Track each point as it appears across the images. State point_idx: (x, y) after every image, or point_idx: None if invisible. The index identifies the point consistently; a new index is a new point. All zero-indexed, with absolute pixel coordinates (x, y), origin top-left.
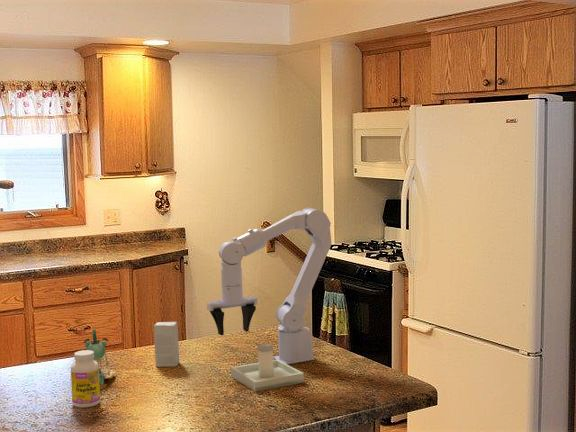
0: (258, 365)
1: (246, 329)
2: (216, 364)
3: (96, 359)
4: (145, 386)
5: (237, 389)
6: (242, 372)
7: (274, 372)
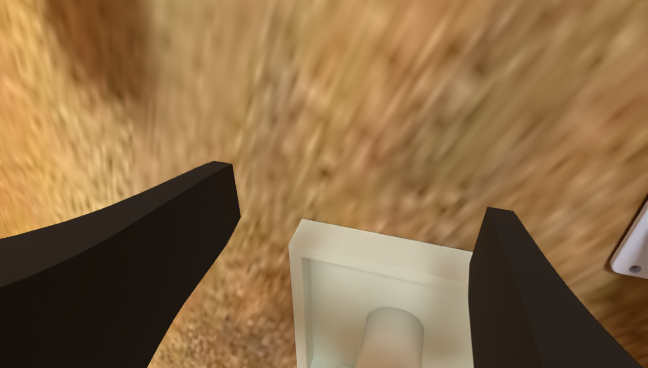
0: (359, 351)
1: (469, 281)
2: (314, 7)
3: None
4: (10, 114)
5: (273, 310)
6: (302, 309)
7: (443, 326)
